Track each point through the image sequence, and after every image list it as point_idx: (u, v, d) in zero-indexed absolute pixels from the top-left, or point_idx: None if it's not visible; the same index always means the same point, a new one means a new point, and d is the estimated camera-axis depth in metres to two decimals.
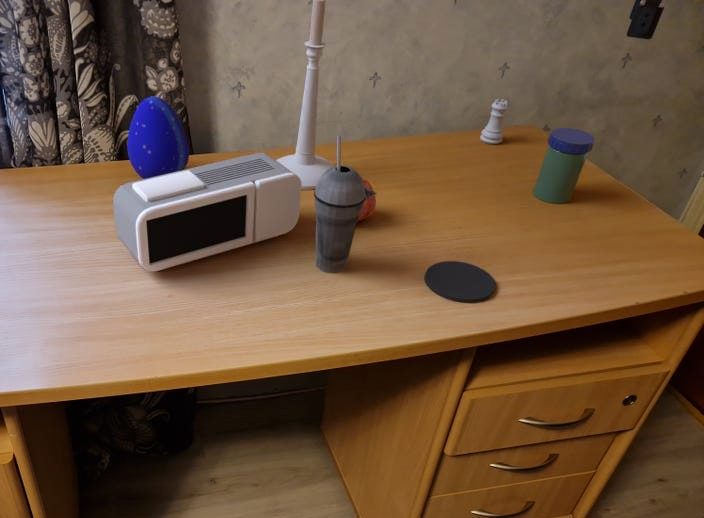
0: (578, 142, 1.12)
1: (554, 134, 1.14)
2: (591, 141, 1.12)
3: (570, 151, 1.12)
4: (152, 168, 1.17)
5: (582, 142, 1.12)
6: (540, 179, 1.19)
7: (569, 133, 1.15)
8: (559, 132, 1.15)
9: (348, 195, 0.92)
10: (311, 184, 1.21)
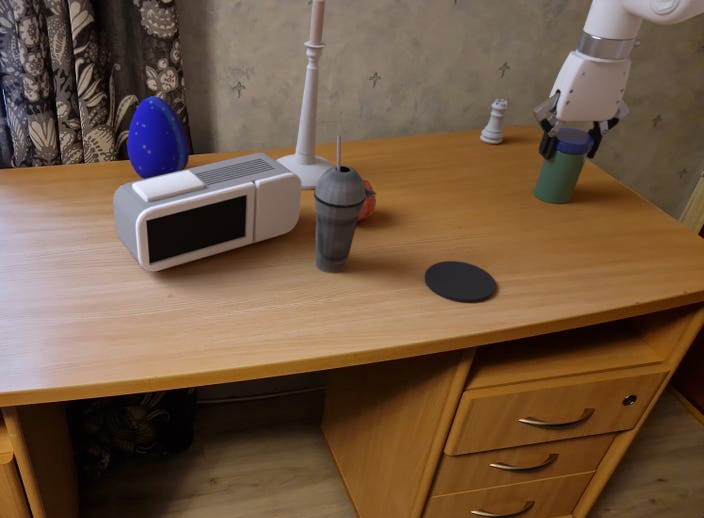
0: (578, 142, 1.12)
1: None
2: (591, 141, 1.12)
3: (570, 151, 1.12)
4: (152, 168, 1.17)
5: (582, 142, 1.12)
6: (540, 179, 1.19)
7: (569, 133, 1.15)
8: (559, 132, 1.15)
9: (348, 195, 0.92)
10: (311, 184, 1.21)
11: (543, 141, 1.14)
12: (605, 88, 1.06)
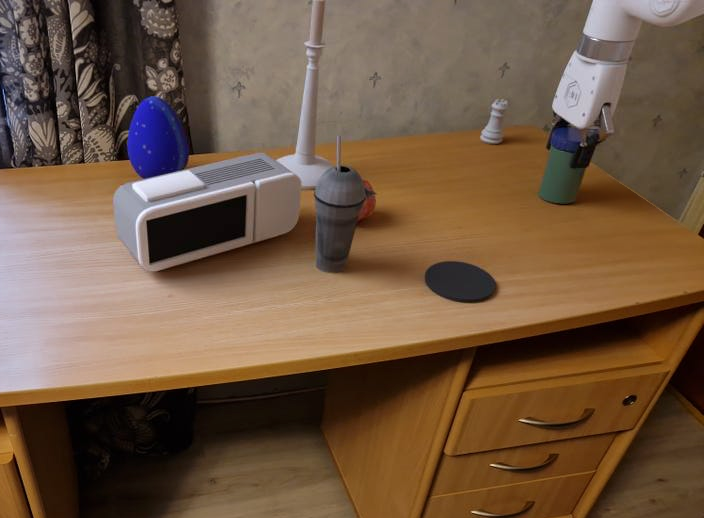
0: (589, 133, 1.14)
1: (580, 140, 1.11)
2: None
3: None
4: (152, 168, 1.17)
5: (589, 132, 1.14)
6: (544, 179, 1.18)
7: (569, 135, 1.13)
8: (571, 138, 1.12)
9: (348, 195, 0.92)
10: (311, 184, 1.21)
11: (587, 154, 1.11)
12: None
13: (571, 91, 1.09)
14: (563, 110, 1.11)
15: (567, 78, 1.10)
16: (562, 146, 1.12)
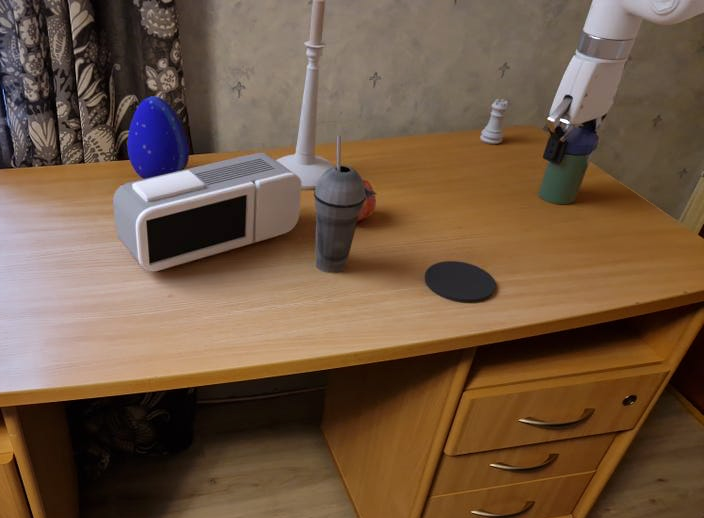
0: (586, 131, 1.14)
1: (589, 142, 1.11)
2: None
3: None
4: (152, 168, 1.17)
5: (584, 130, 1.14)
6: (545, 180, 1.18)
7: (573, 137, 1.13)
8: (580, 141, 1.11)
9: (348, 195, 0.92)
10: (311, 184, 1.21)
11: (552, 146, 1.12)
12: (609, 86, 1.07)
13: None
14: None
15: None
16: (573, 150, 1.12)
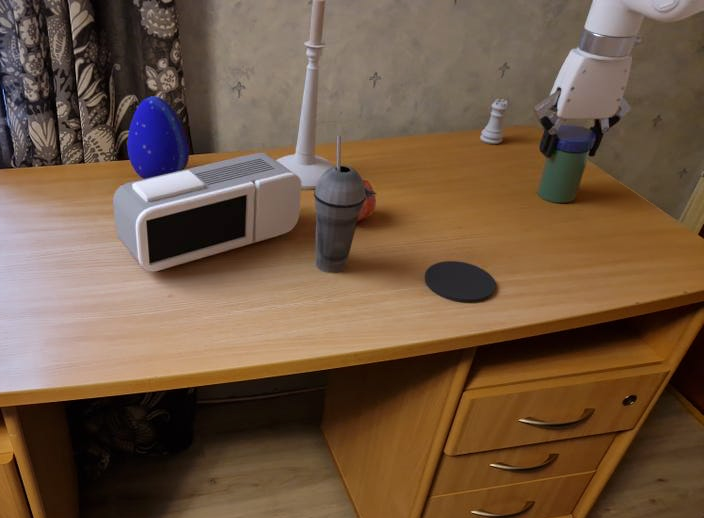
0: (565, 127, 1.15)
1: (591, 132, 1.13)
2: None
3: None
4: (152, 168, 1.17)
5: (562, 127, 1.15)
6: (544, 180, 1.18)
7: (578, 135, 1.13)
8: (588, 135, 1.13)
9: (348, 195, 0.92)
10: (311, 184, 1.21)
11: (544, 138, 1.14)
12: (606, 86, 1.06)
13: None
14: None
15: None
16: (592, 145, 1.12)
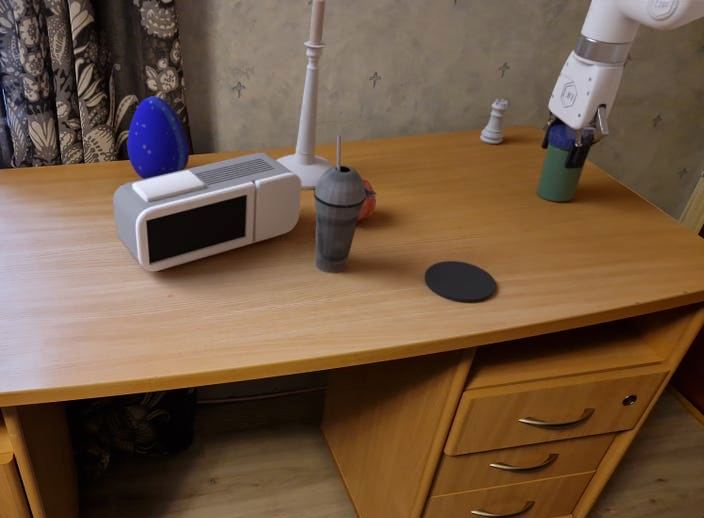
0: (559, 133, 1.13)
1: (564, 125, 1.16)
2: (568, 138, 1.12)
3: (549, 139, 1.15)
4: (152, 168, 1.17)
5: (560, 134, 1.13)
6: (543, 179, 1.18)
7: None
8: None
9: (348, 195, 0.92)
10: (311, 184, 1.21)
11: (581, 154, 1.12)
12: None
13: (567, 91, 1.09)
14: (559, 110, 1.12)
15: (564, 78, 1.10)
16: None
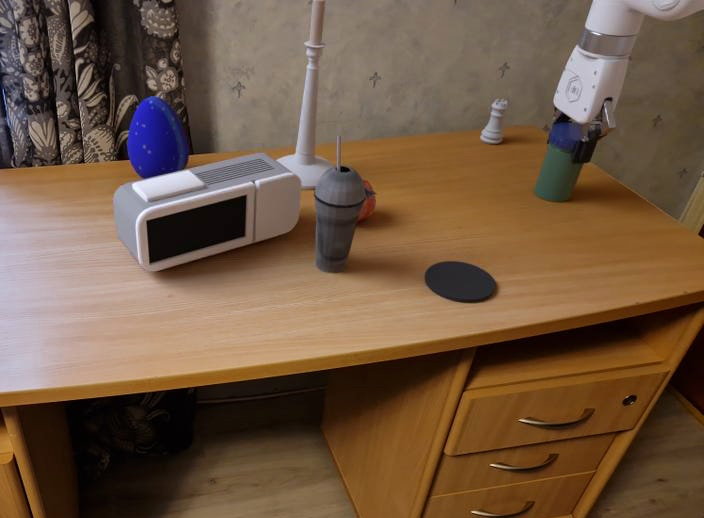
0: None
1: (557, 132, 1.13)
2: None
3: None
4: (152, 168, 1.17)
5: None
6: (543, 179, 1.18)
7: (568, 129, 1.14)
8: (559, 129, 1.14)
9: (348, 195, 0.92)
10: (311, 184, 1.21)
11: (588, 149, 1.10)
12: None
13: (572, 86, 1.09)
14: (564, 105, 1.11)
15: (569, 73, 1.09)
16: (550, 132, 1.15)
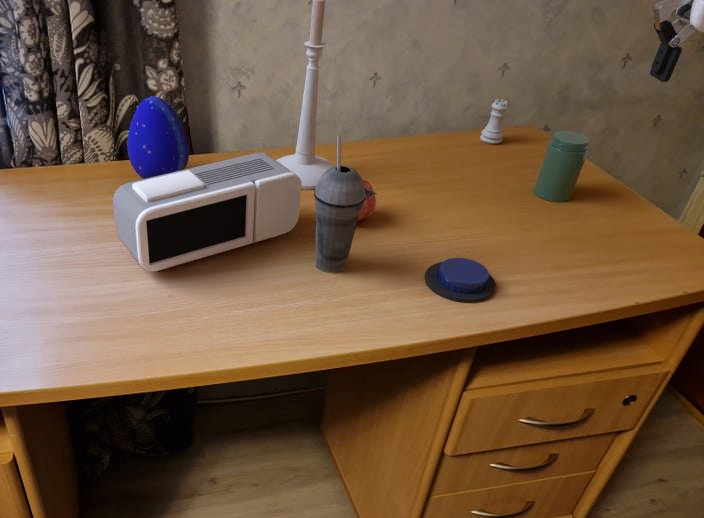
0: (480, 268, 0.98)
1: (471, 281, 0.96)
2: (470, 260, 1.00)
3: None
4: (152, 168, 1.17)
5: (479, 266, 0.99)
6: (543, 179, 1.18)
7: (458, 271, 0.98)
8: (461, 278, 0.96)
9: (348, 195, 0.92)
10: (311, 184, 1.21)
11: None
12: None
13: None
14: None
15: None
16: (451, 287, 0.97)
